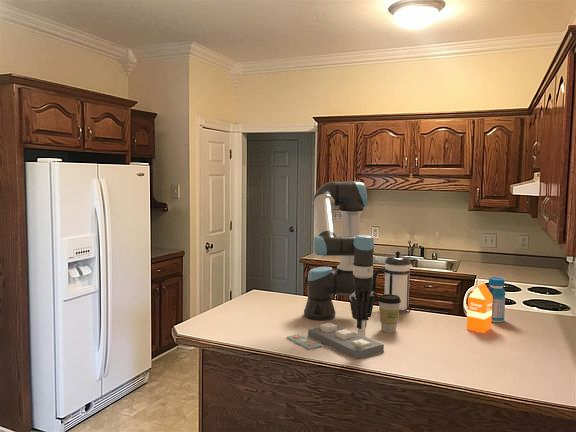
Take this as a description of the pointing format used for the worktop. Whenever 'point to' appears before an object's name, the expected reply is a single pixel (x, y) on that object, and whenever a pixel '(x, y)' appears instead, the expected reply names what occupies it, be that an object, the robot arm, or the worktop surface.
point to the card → (303, 342)
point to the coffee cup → (389, 311)
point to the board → (346, 343)
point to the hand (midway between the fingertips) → (361, 336)
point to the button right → (361, 343)
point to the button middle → (344, 334)
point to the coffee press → (396, 278)
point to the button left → (328, 327)
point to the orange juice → (479, 309)
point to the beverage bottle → (497, 298)
